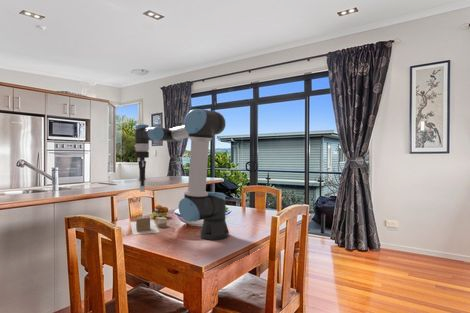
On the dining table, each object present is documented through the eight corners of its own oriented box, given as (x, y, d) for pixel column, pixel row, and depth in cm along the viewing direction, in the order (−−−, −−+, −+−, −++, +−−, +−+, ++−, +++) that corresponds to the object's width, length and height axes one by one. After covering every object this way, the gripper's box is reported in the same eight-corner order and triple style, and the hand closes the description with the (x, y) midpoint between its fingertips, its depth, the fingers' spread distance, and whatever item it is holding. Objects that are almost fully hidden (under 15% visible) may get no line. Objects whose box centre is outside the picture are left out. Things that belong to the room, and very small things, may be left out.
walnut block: (148, 215, 174) (148, 227, 174) (136, 216, 171) (136, 228, 171) (150, 217, 167) (150, 230, 167) (137, 218, 165) (137, 231, 165)
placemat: (159, 232, 164) (159, 232, 164) (132, 235, 159) (132, 234, 159) (153, 220, 194) (153, 220, 194) (130, 222, 188) (130, 222, 188)
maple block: (166, 226, 177) (167, 218, 177) (158, 227, 174) (158, 219, 174) (163, 225, 181) (163, 216, 181) (155, 225, 178) (155, 217, 179)
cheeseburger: (147, 218, 201) (150, 203, 203) (161, 219, 208) (164, 205, 210) (154, 220, 194) (157, 205, 195) (168, 221, 201) (172, 207, 202)
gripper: (134, 151, 179) (134, 190, 179) (136, 151, 167) (136, 193, 167) (147, 151, 182) (147, 190, 182) (149, 151, 170) (150, 192, 170)
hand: (142, 191), depth 175 cm, fingers closed
